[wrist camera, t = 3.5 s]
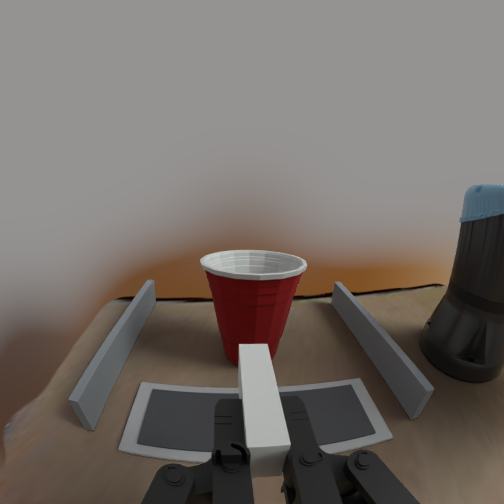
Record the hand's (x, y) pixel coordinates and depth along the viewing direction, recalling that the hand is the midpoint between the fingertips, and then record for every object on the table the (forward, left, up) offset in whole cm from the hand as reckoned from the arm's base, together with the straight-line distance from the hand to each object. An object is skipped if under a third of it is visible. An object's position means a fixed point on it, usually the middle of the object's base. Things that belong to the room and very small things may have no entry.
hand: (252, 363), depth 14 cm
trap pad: (-1, -4, -10) cm, 11 cm away
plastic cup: (-1, -15, -10) cm, 18 cm away
